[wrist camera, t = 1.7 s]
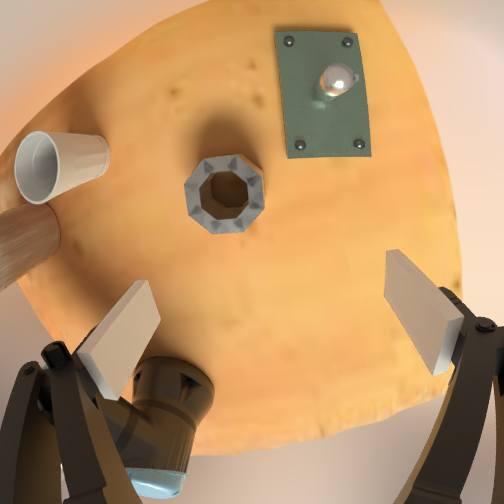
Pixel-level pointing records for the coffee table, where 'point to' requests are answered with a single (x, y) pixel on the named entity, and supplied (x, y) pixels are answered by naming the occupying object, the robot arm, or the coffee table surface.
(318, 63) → the shaft stand
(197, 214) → the ring
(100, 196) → the coffee table surface
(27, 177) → the cup
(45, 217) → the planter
